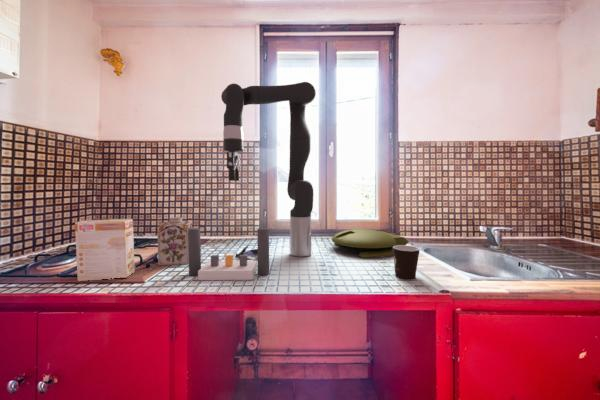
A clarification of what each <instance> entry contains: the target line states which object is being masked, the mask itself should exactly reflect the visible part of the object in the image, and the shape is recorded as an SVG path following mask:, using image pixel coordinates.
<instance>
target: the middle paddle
mask: <svg viewBox="0 0 600 400" xmlns="http://www.w3.org/2000/svg"><path fill="white" fill-rule="evenodd" d="M224 257H225V258H224V259H225V260H224V261H225V266H233V261H234V254H225V256H224Z"/></svg>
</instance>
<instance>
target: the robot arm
mask: <svg viewBox="0 0 600 400" xmlns="http://www.w3.org/2000/svg"><path fill="white" fill-rule="evenodd" d="M316 93H317V92H316V89H315V87H314V85H313V84H312V83H310V82H307V81H301V82H296V83H293V84H283V85H282V84H281V85H249V86H247V87H244V88H242V87H241V85H239V84H238V83H230V84H228V85H227V86H226V87H225V88H224V90H222V93H221V96H220V97H221V98H220V99H221V101H222V102H223V104H224V105H225V111H224V114H223V137H222V139H223V151H224V152H226V169H227V170H228V180H229V181H230V182H231V181H232V182H233V181H235V182H237V181H240V170H241V156H240V155H239V153H241V152H243V151H244V131H243V110H244V106H248V105H269V104H270V105H271V104H274V103H279V102H288V104H289V113H290V114H289V115H290V121H289V123H290V125H289V128H290V129H289V134H290V135H289V171H288V172H289V173H288V181H287V189H286V190H287V195H288V197H289V198H290V200H292V201H294V206H293V207H292V208H291V210H290V212H289V215H290V216H289V217H290V218H289V219H290V220H289V221H290V223H289V224H290V225H289V228H290V233H289V234H290V235H289V238H290V239H289V241H290V242H289V245H290V248H289V251H290V252H289V254H290V255H291V256H292V257H293V256H294V257H308V256H309V257H310V256H312V212H313V208H314V187H313V184H312V183H311V181H308V180H305V179H304V178H305V177H304V175H305V173H304V172H305V167H306V164H307V162H308V159H309V156H310V153H311V137H312V136H311V133H310V130H309V127H308V124H307V121H306V107H307V105H309V104H311V103H312V102H313V101H314V100H315V98H316V95H317V94H316Z"/></svg>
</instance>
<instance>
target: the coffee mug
mask: <svg viewBox="0 0 600 400" xmlns="http://www.w3.org/2000/svg"><path fill="white" fill-rule="evenodd" d="M392 250H393V255H394V256H393V263H394V275H395V276H394V277H396V278H398V279H400V280H404V281H405V280H406V281H407V280H408V281H411V280H415V279H416V273H417V268H418V262H419V255H420V248H419V247H417V246H413V245H407V244H406V245H397V246H393V248H392Z"/></svg>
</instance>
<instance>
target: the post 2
mask: <svg viewBox="0 0 600 400" xmlns="http://www.w3.org/2000/svg"><path fill="white" fill-rule="evenodd" d="M256 232H257V233H256V234H257V249H258V260H257V275H258V276H261V277H262V276H265V277H266V276H268V275H270V228H268V227H260V228H257V231H256Z"/></svg>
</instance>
